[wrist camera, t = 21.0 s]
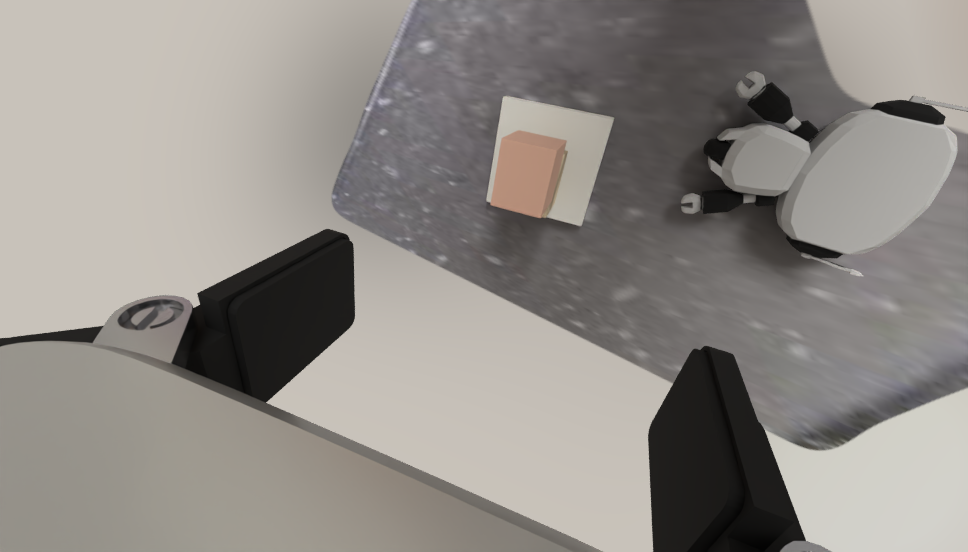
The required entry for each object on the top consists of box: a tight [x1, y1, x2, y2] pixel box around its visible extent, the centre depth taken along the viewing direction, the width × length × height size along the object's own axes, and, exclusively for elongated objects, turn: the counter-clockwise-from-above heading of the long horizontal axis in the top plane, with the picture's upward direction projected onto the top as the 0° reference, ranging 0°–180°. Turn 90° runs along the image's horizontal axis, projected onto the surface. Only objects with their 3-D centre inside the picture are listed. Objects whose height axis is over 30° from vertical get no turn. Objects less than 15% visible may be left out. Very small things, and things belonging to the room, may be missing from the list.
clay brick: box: [491, 130, 567, 218], centre depth 30 cm, size 5×4×5 cm
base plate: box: [486, 96, 615, 226], centre depth 37 cm, size 10×10×2 cm
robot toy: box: [681, 71, 968, 276], centre depth 30 cm, size 12×4×15 cm
